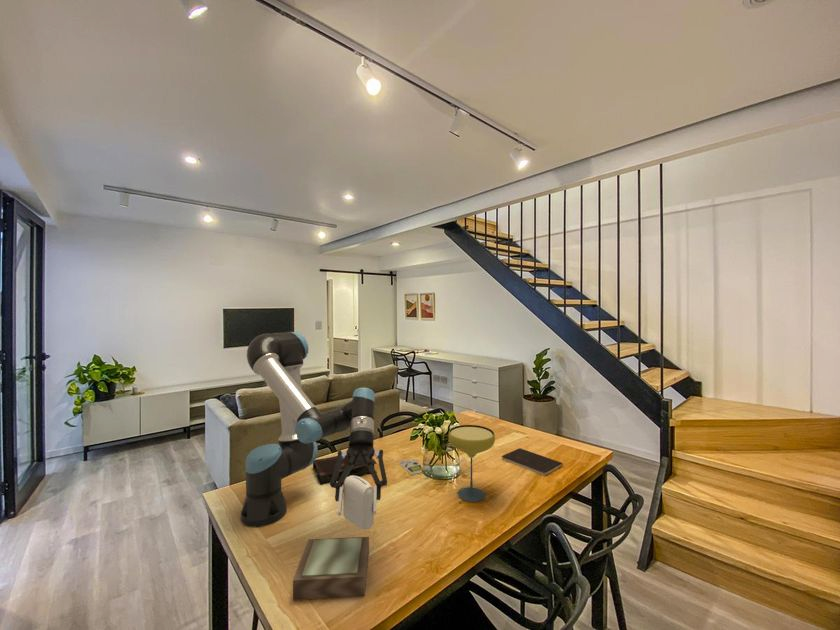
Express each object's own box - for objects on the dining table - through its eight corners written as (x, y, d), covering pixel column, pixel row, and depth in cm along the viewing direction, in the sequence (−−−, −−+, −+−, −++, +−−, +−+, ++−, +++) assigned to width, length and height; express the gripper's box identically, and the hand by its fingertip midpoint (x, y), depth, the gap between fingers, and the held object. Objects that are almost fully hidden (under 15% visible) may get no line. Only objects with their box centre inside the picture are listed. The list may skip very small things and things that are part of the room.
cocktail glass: (502, 504, 134) (502, 438, 134) (456, 510, 130) (456, 442, 130) (483, 481, 152) (484, 423, 151) (443, 486, 148) (443, 426, 147)
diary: (312, 469, 165) (312, 458, 165) (364, 459, 176) (364, 449, 176) (320, 487, 148) (320, 475, 148) (377, 474, 159) (377, 463, 159)
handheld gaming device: (413, 457, 175) (428, 469, 162) (413, 459, 175) (428, 471, 162) (397, 461, 171) (411, 474, 158) (397, 463, 171) (411, 475, 158)
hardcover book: (544, 477, 156) (544, 472, 156) (501, 460, 174) (501, 455, 174) (562, 467, 167) (562, 462, 167) (520, 452, 184) (520, 447, 184)
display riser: (293, 599, 90) (292, 578, 90) (308, 555, 106) (308, 538, 106) (364, 595, 92) (364, 575, 91) (369, 553, 107) (369, 535, 107)
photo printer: (340, 517, 102) (341, 475, 102) (352, 511, 105) (353, 470, 105) (363, 533, 95) (364, 487, 95) (376, 525, 99) (376, 481, 98)
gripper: (325, 429, 109) (314, 510, 93) (396, 428, 111) (397, 507, 95) (328, 440, 114) (318, 518, 99) (395, 438, 116) (396, 515, 101)
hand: (357, 513), depth 97 cm, fingers closed on photo printer, 9 cm apart
